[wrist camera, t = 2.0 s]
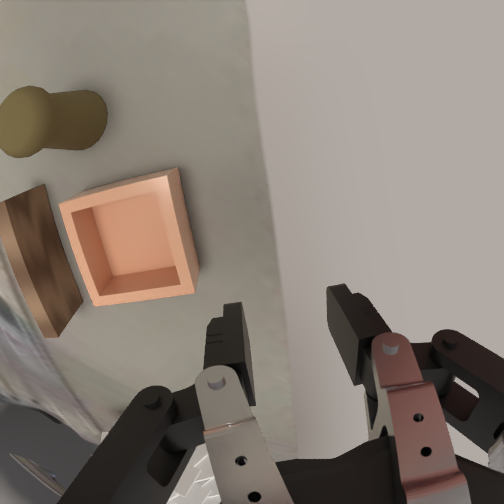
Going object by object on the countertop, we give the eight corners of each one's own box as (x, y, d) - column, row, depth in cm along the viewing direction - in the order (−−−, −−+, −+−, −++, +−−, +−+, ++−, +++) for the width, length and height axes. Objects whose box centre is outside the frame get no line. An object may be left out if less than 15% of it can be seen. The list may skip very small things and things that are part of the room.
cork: (119, 117, 24) (58, 114, 14) (79, 163, 25) (10, 185, 15) (84, 78, 22) (16, 61, 12) (46, 123, 23) (-26, 131, 13)
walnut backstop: (31, 188, 25) (-8, 206, 19) (44, 184, 25) (4, 200, 19) (70, 302, 31) (44, 338, 24) (83, 301, 31) (58, 337, 24)
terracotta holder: (83, 191, 26) (58, 203, 21) (178, 167, 26) (166, 175, 21) (111, 281, 30) (94, 306, 25) (200, 267, 30) (195, 293, 25)
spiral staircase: (179, 453, 50) (128, 380, 39) (259, 480, 44) (233, 416, 33) (137, 518, 35) (57, 466, 25) (221, 557, 29) (163, 539, 18)
